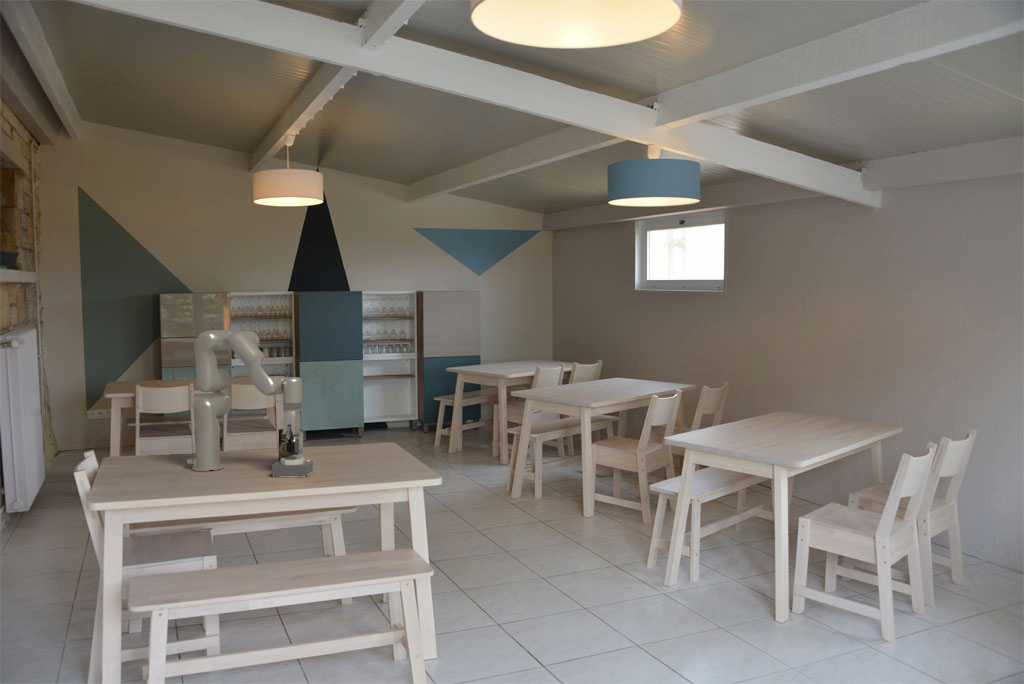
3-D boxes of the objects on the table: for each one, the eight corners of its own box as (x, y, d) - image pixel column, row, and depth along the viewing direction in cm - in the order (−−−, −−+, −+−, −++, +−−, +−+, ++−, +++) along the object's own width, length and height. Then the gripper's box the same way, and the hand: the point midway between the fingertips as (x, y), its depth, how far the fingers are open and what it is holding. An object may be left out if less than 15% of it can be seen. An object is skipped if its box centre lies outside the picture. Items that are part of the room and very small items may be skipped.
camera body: (272, 477, 310) (272, 460, 309) (279, 472, 320) (279, 456, 319) (306, 477, 310) (306, 460, 309) (312, 472, 320) (312, 456, 319)
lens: (284, 454, 312) (284, 435, 312) (288, 452, 317) (288, 433, 317) (297, 454, 312) (297, 435, 312) (300, 452, 317) (300, 433, 317)
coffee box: (277, 465, 335) (277, 429, 334) (288, 463, 341) (288, 427, 340) (293, 467, 331) (293, 430, 330) (303, 465, 336) (303, 429, 336)
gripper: (289, 404, 322) (289, 447, 323) (277, 409, 305) (277, 454, 306) (307, 404, 322) (307, 447, 323) (295, 409, 305) (295, 454, 306)
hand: (292, 450), depth 314 cm, fingers closed on lens, 5 cm apart
